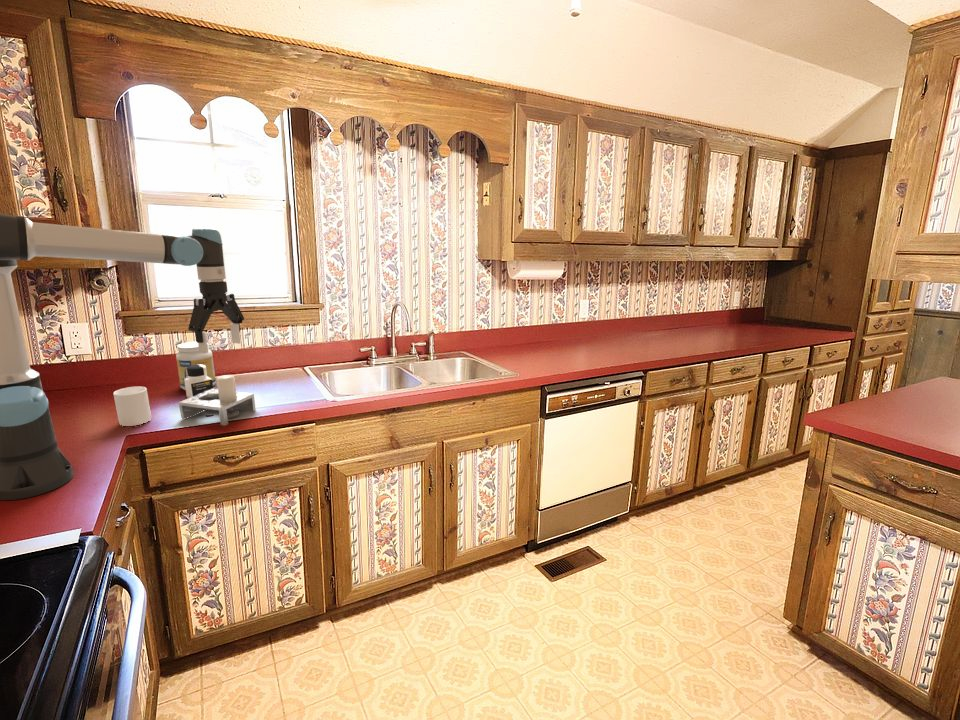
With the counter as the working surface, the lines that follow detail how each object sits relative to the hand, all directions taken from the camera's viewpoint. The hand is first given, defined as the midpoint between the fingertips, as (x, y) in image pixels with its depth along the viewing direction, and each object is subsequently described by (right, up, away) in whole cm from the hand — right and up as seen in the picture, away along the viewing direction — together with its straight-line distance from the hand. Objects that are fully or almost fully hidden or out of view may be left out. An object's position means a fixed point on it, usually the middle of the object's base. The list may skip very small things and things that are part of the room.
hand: (220, 347), depth 158 cm
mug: (-28, -24, +2) cm, 37 cm away
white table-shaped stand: (-4, -22, +8) cm, 24 cm away
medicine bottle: (-20, -18, +24) cm, 36 cm away
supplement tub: (-27, -14, +35) cm, 47 cm away
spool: (0, -22, +6) cm, 23 cm away
